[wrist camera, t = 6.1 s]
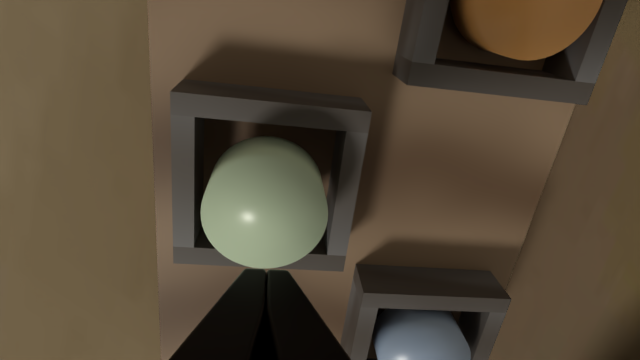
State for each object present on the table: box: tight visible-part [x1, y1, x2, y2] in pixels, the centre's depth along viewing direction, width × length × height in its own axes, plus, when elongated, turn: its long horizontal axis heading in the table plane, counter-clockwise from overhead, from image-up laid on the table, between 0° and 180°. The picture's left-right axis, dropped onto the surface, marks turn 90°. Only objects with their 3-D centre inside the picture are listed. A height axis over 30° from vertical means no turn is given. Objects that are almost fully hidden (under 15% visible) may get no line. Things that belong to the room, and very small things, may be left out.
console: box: [147, 0, 628, 360], centre depth 14 cm, size 20×13×4 cm, turn 173°
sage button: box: [200, 136, 328, 268], centre depth 11 cm, size 3×3×2 cm
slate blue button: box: [372, 308, 471, 360], centre depth 15 cm, size 3×3×2 cm
